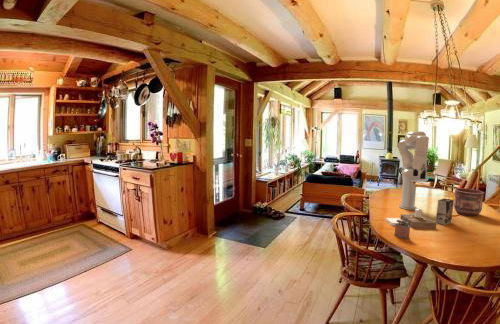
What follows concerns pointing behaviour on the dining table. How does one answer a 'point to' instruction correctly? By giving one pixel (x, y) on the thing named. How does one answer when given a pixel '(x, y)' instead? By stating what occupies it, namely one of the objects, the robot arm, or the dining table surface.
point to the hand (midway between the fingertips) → (418, 177)
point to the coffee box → (444, 211)
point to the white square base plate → (392, 221)
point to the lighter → (402, 229)
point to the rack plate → (418, 221)
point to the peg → (418, 213)
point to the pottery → (468, 201)
